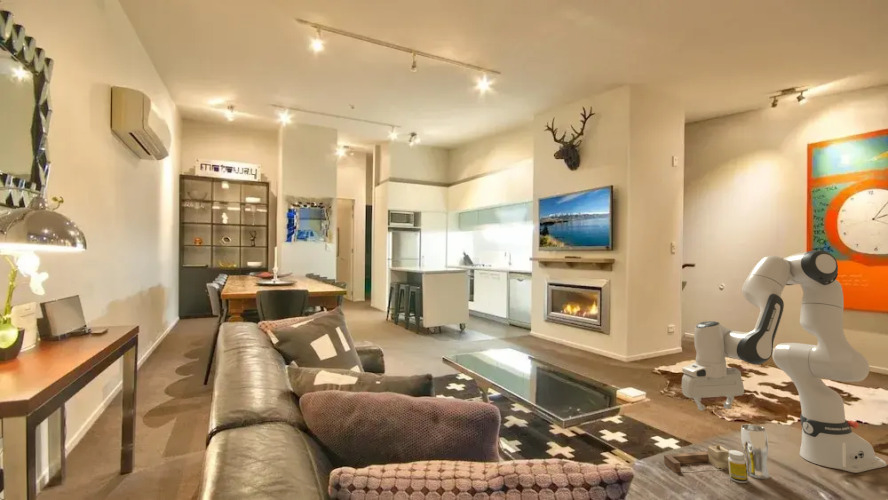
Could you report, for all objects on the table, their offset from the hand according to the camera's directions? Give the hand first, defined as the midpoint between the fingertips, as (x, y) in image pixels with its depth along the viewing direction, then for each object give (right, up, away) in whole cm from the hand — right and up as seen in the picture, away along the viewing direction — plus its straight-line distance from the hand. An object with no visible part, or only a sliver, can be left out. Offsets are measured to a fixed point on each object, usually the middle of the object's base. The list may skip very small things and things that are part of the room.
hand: (714, 409), depth 139 cm
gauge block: (+1, -19, -1) cm, 19 cm away
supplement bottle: (0, -19, -11) cm, 21 cm away
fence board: (-7, -19, -1) cm, 20 cm away
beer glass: (+8, -18, -9) cm, 22 cm away
